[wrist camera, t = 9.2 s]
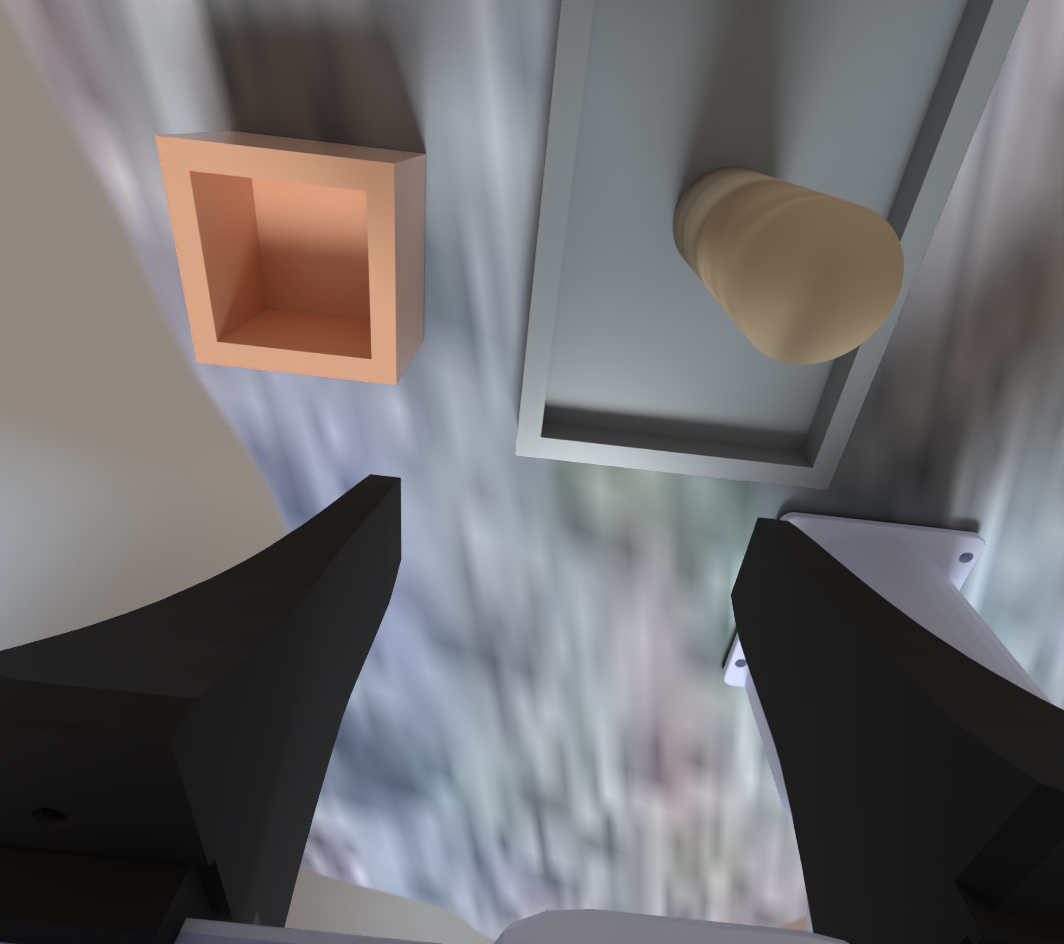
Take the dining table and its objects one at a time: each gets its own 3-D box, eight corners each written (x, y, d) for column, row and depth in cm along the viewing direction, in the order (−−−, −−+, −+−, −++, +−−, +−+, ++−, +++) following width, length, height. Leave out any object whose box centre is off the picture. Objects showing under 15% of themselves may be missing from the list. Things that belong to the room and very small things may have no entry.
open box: (423, 340, 21) (396, 384, 18) (256, 321, 21) (196, 362, 18) (425, 153, 18) (394, 163, 15) (231, 130, 18) (154, 135, 15)
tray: (810, 464, 23) (827, 490, 22) (518, 432, 23) (515, 455, 21) (1026, -102, 15) (1080, -127, 13) (578, -158, 15) (580, -190, 13)
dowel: (758, 278, 19) (867, 372, 12) (663, 267, 19) (719, 355, 12) (788, 172, 18) (932, 212, 11) (685, 160, 18) (762, 192, 11)
